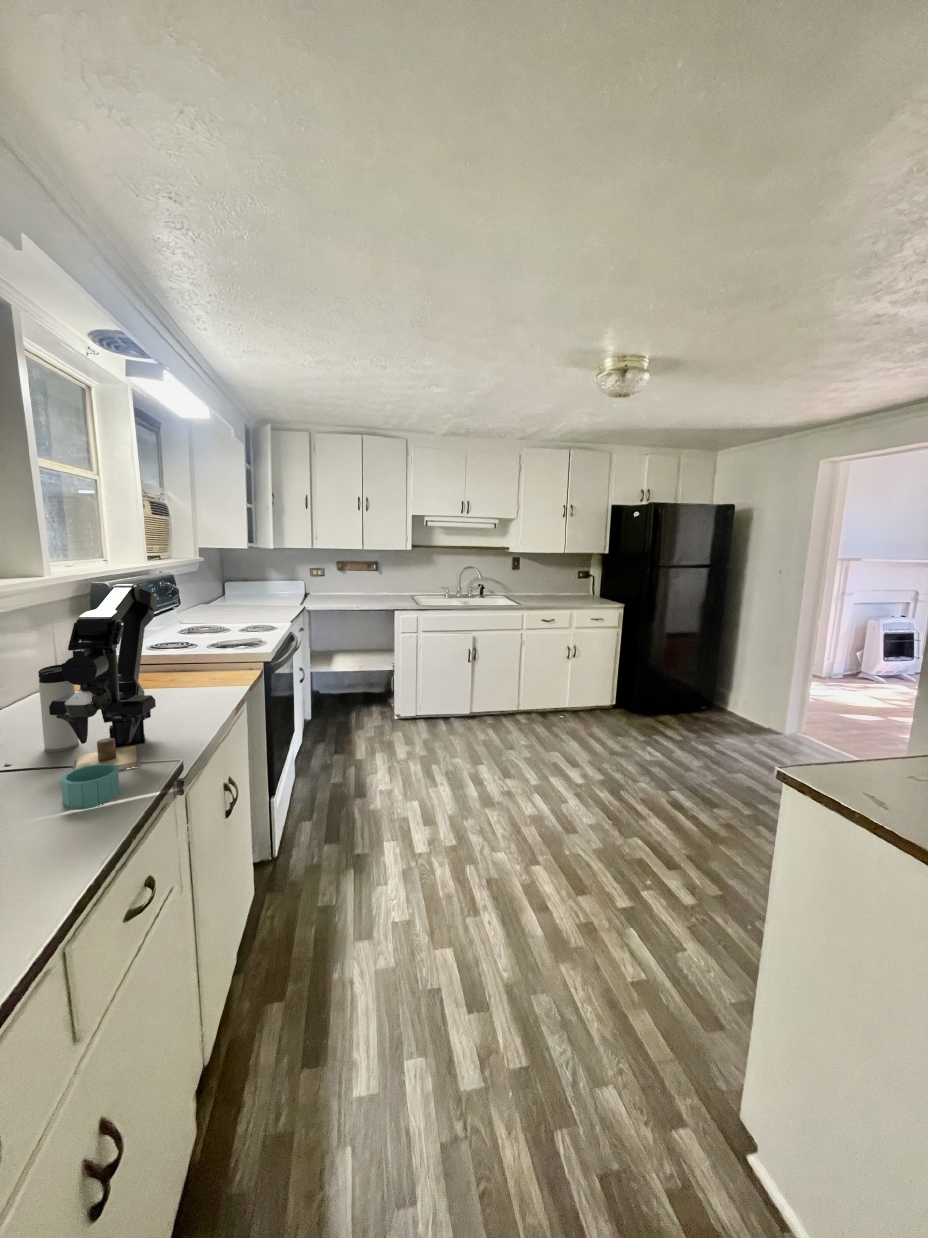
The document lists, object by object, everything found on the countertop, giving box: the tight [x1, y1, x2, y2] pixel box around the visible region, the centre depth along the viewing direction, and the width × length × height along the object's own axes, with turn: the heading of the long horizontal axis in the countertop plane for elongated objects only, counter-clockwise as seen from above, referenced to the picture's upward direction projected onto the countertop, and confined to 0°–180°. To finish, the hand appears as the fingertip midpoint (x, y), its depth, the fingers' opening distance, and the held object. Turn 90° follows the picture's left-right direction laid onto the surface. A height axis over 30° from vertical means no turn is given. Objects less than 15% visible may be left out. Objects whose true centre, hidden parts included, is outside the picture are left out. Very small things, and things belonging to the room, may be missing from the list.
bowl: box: [60, 764, 121, 811], centre depth 92 cm, size 8×8×5 cm
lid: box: [76, 737, 137, 770], centre depth 106 cm, size 10×10×5 cm
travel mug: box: [37, 662, 80, 753], centre depth 114 cm, size 6×7×20 cm
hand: (106, 743), depth 106 cm, fingers open, 9 cm apart
